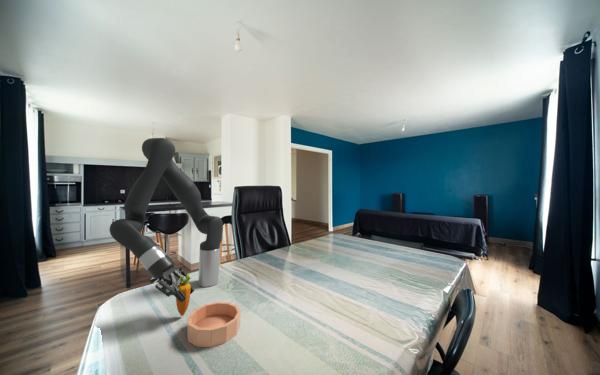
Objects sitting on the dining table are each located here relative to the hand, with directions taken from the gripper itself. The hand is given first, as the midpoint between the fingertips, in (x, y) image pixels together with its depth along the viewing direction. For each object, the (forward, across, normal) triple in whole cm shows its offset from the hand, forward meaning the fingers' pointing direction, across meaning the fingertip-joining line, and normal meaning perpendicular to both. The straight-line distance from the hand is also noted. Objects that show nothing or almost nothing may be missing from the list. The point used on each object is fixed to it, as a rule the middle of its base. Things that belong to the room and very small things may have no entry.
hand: (188, 296), depth 78 cm
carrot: (+4, 0, +6) cm, 8 cm away
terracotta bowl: (+14, -6, -3) cm, 16 cm away
